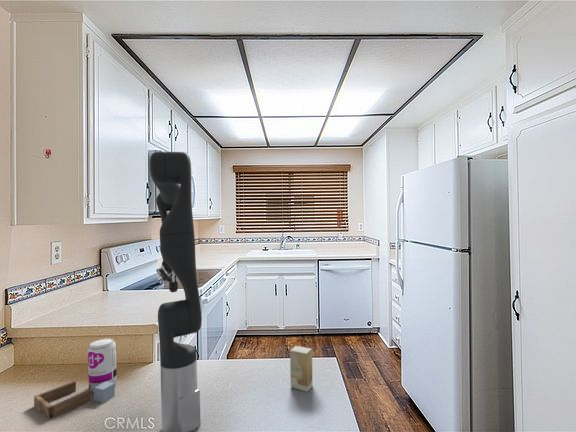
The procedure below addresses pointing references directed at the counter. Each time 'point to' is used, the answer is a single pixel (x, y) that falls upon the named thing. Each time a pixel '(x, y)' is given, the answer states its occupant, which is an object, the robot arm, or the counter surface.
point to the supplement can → (102, 362)
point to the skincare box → (301, 368)
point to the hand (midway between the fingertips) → (173, 291)
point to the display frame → (65, 405)
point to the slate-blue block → (104, 391)
